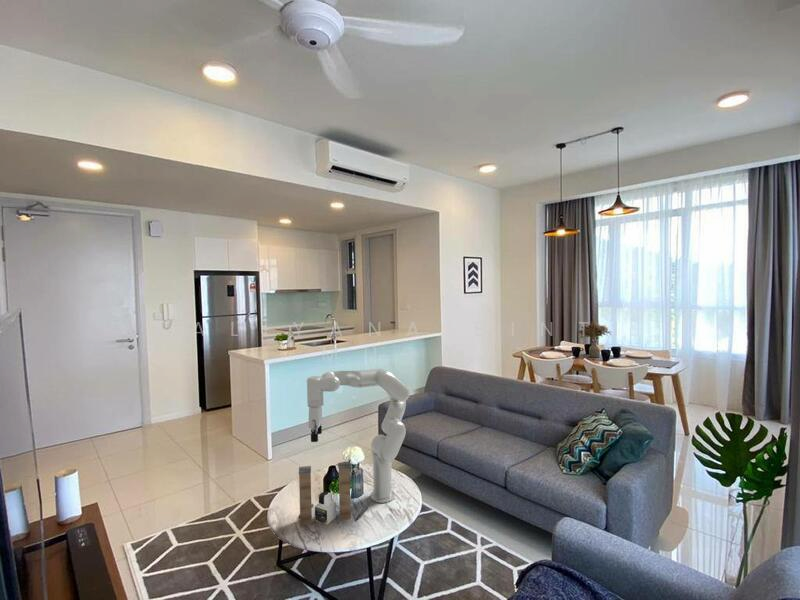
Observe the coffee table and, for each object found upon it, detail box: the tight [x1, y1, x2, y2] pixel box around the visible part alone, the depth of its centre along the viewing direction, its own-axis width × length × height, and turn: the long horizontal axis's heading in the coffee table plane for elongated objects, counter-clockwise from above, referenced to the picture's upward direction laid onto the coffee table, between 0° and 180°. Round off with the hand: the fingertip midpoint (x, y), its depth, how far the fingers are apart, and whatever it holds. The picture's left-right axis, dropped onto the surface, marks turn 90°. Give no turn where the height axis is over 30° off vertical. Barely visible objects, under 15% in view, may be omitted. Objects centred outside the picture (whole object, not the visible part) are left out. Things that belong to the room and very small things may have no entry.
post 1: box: [298, 465, 313, 526], centre depth 177 cm, size 5×5×25 cm
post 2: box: [337, 461, 352, 521], centre depth 181 cm, size 5×5×25 cm
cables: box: [298, 503, 368, 521], centre depth 184 cm, size 11×31×1 cm, turn 85°
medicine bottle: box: [314, 491, 337, 526], centre depth 179 cm, size 7×7×12 cm
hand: (316, 437), depth 183 cm, fingers open, 9 cm apart
